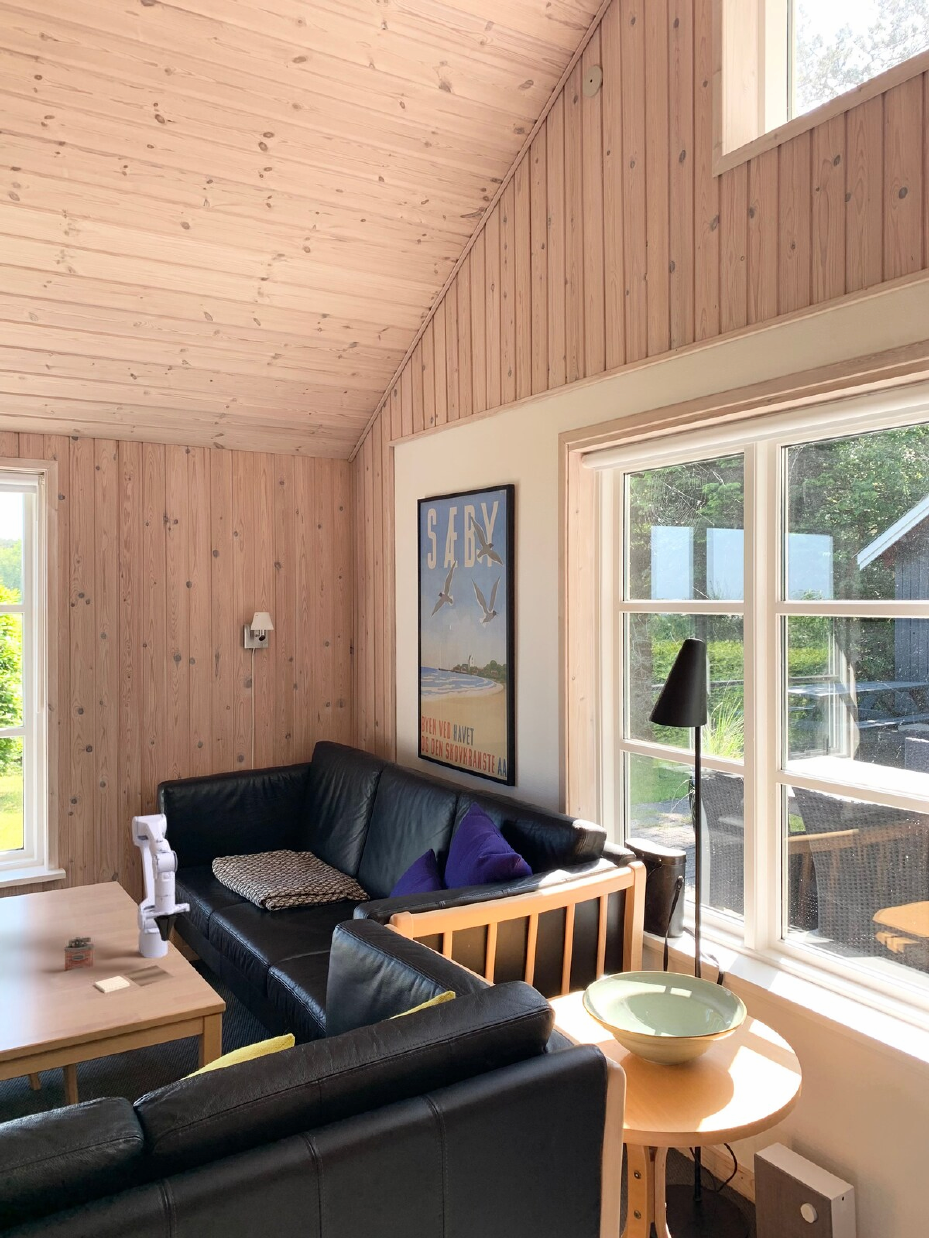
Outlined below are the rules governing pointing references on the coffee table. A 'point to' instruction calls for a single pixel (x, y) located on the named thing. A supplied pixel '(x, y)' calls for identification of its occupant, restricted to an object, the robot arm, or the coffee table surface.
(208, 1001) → the coffee table surface
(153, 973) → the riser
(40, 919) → the coffee table surface
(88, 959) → the lighter
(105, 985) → the cream flat block
